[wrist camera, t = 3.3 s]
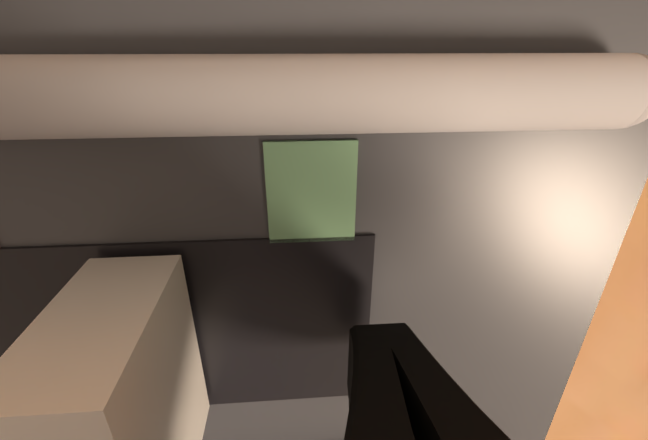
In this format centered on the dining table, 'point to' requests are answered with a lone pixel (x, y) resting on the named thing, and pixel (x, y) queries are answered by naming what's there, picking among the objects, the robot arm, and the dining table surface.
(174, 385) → the lever
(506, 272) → the box
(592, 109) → the pair of cream rails
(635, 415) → the dining table surface
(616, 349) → the dining table surface
